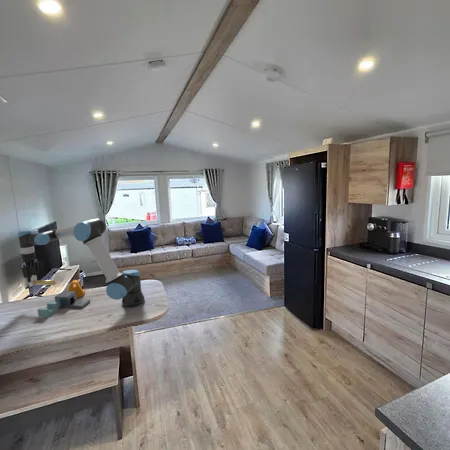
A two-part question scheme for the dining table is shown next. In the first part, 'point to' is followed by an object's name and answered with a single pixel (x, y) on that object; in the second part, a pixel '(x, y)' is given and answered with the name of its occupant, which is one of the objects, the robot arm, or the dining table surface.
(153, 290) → the dining table surface
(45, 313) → the v block
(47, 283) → the axle
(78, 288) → the bracket
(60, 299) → the block
